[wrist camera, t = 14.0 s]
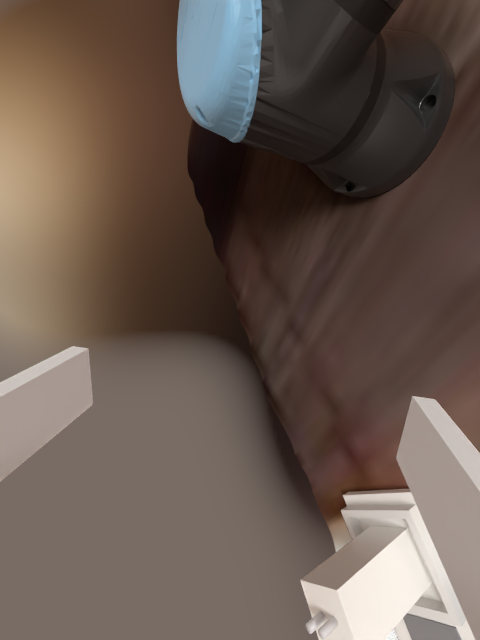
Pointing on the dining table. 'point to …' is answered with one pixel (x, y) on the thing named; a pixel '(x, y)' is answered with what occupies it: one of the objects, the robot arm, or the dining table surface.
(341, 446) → the dining table surface
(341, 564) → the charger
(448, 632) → the white base tray
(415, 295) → the dining table surface
